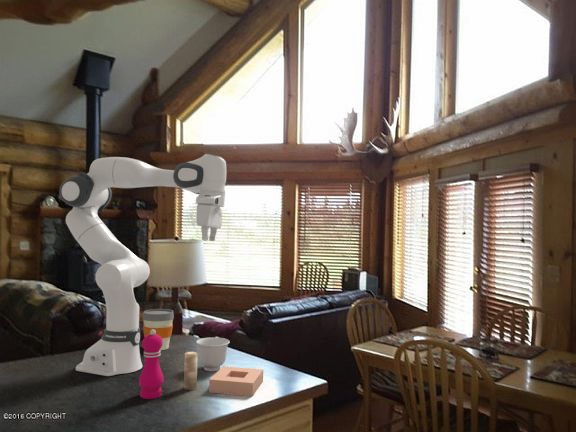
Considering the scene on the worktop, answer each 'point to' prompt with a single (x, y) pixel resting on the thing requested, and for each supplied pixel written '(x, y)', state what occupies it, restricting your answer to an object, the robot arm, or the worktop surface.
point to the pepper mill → (151, 367)
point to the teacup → (212, 352)
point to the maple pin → (190, 371)
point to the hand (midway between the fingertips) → (208, 240)
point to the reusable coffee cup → (159, 324)
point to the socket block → (236, 381)
